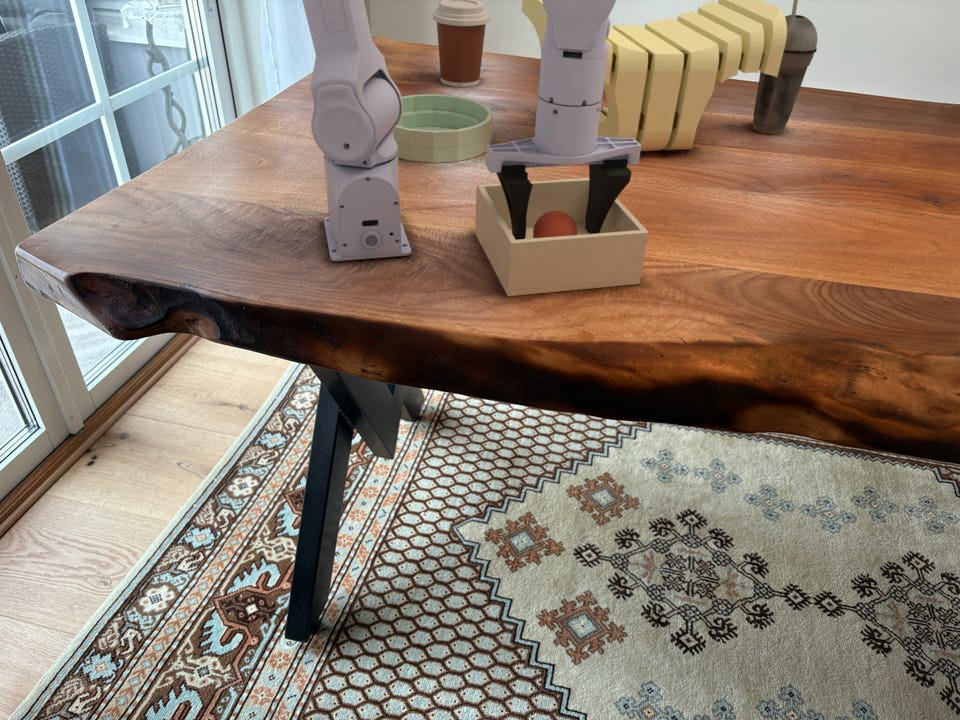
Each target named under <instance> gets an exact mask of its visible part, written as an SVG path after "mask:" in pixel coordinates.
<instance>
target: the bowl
mask: <svg viewBox="0 0 960 720" xmlns="http://www.w3.org/2000/svg"><path fill="white" fill-rule="evenodd" d="M401 97H402V101H403V111H402V116H401V119H400V120H399V122H398V124H397V125H396V126H395V127H394V128H393V129H392V130H393V137H394V139H395V142H396V144H397V146H398V159H401V160H406V161H409V162H419V163H428V164H429V163H431V164H433V163H434V164H438V163H439V164H440V163H455V162H463V161H465V160H470V159H475V158H477V157H479V156H481V155H482V154H484V153H486V145H492V143H493V127H494V125H493V124H494V122H493V121H494V112H492V109H490V107H489V106H488V105H486V104H484V103H481V102H479V101H477V100H475V99H471V98H466V97H462V96H457V95H448V94H447V95H446V94H438V93H437V94H436V93H432V94H431V93H429V94H410V95H404V96H401Z"/></svg>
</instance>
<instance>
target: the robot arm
mask: <svg viewBox="0 0 960 720" xmlns="http://www.w3.org/2000/svg"><path fill="white" fill-rule="evenodd" d="M301 1H302V5H303V8H304V13H305V17H306V20H307V24H308V29H309V32H310V37H311V41H312V45H313V49H314V53H315V59H314V65H313V69H312V75H311V80H310V91H311V95H312V100H313V110H312V111H313V112H312V117H311V120H310V121H311V122H310V127H311V133H312V137H313V139H314V142H315V144H316V145H317V147H318V149H319V150H320V151H321V152H322V153H323V163H324V176H325V187H326V189H325V190H326V199H327V212H328V213H327V214H328V216H325V217H324V218H323V224H324V230H325V235H326V242H327V246H328V252H329V258H330V260H331V261H332V262H343V261H355V260H369V259H380V258H381V259H382V258H393V257H407V256H410V255H412V248H411V246H410V242H409V239H408V237H407V233H406V231H405V228H404V225H403V223H402V219H401V218H402V216H401V198H400V197H401V196H400V177H399V175H400V173H399V172H400V171H399V158H398V146H397V144H396V142H395V139H394V137H393V130H392V129H393V128H394V127H395V126H396V125H397V124H398V122H399V120H400V119H401V116H402V111H403V101H402V97H403V96H402V93H401V91H400V89H399V87H398V86H397V84H396V83H395V82H394V80H393V79H392V77H391V76H390V74H389V71H388V68H387V64H386V59H385V57H384V55H383V53H382V52H381V50H380V49H379V48H378V47H377V45H376V44H375V43H374V41H373V38H372V32H371V28H370V23H369V20H368V19H369V18H368V13H367V9H366V4H365V0H301ZM541 1H542V2H543V5H544V8H545V10H546V12H547V22H546V34H545V38H544V40H543V42H542V51H541V50H540V65H539V76H538V77H539V78H538V88H537V100H536V101H537V102H536V115H535V126H534V136H533V137H529V138H524V139H518V140H514V141H508V142H503V143H496V144H495V143H494V144H491V145H486V152H485V163H484V164H485V166H486V168H487V170H488V171H489V173H490V174H496V176H497V178H498V180H499V183H501V186H502V188H503V191H504V194H505V197H506V201H507V204H508V208H509V213H510V218H511V225H512V235H513V236H514V238H515V240H520V239H525V237H526V218H527V209H528V203H529V198H530V194H531V190H532V187H533V185H532V184H531V182H530V181H531V180H530V179H529V173H528V172H527V169H532V168H533V169H534V168H552V167H569V166H586V165H588V167H589V168H588V175H589V176H588V178H589V196H588V203H587V210H586V217H585V229H586V230H587V231H588V233H589V234H597V233H600V230H601V227H602V225H603V223H604V220H605V218H606V216H607V214H608V212H609V210H610V208H611V206H612V205H613V203H614V201H615V200H616V198H617V199H618V197H619V196H620V194H621V193H622V192H623V191H624V189H625V188H626V187H627V186H628V185H629V184H630V183H631V179H632V170H631V169H629V167H628V166H636V165H637V166H638V165H639V162H640V158H641V157H640V156H641V152H642V151H641V144H639V143H638V142H637V141H636V140H635V139H634V138H610V137H597V134H598V126H599V118H600V111H602V102H603V94H604V80H605V73H606V65H607V57H608V50H609V45H608V42H607V38H608V36H609V32H610V27H611V20H610V14H611V12H612V11H613V9H614V7H615V4H616V1H617V0H541Z"/></svg>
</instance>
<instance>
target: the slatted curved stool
mask: <svg viewBox="0 0 960 720" xmlns="http://www.w3.org/2000/svg"><path fill="white" fill-rule="evenodd" d="M521 12H522V13H523V14H524V15H525V16H526V18H527V19H528V20H529V22H530V23H531V24H532V26H533V28H534V30H535V32H536V35H537V37H538V41H539V46H540V47H539V48H540V52H541V51H542V42H543V40H544V38H545V34H546V22H547V12H546V10H545V8H544V5H543V2H542V0H521ZM785 16H786V15H785V13H784V12H783V10H782V8H780V7H778V6H776V5H774V4H771V3H769V2H766V1H764V0H717V2H716V1H714V0H710V1H708V2H706V3H704V4H702V5H700V6H698V7H697V12H695V11H693V10H689V11H686V12H683V13H681V14H679V15H678V14H677V20H676V19H674V18H673V17H669V18H664V19H662V20H659V21H658V20H657V21H653V22H648V23H644V27H643V26H642V25H640V24H626V25H625V24H612V26H610V32H609V36H608V38H607V42H608V45H609V50H608V57H607V65H606V73H605V80H604V88H603V91H604V93H605V97H606V102H607V107H606V106H603V107H602V106H601V110H600V118H599V126H598V134H597V137H610V138H634V139H635V140H636V141H637V142H638V143H639V144H641V151H640V152H655V151H657V152H658V151H659V152H660V151H663V150H664V151H680V150H681V151H682V150H683V151H684V150H692V149H693V147H694V142H695V137H696V133H697V129H698V125H699V122H700V120H701V118H702V116H703V113H704V111H705V109H706V107H707V105H708V104H709V101H710V100H711V97H712V96H713V94H714V89H715V85H716V81H718V82H720V84H723V83H725V81H727V80H729V79H731V78H733V77H736V76H738V73H739V72H741V73H743V74H751V73H752V74H753V73H754V74H758V73H759V72H760V71H761V72H763V73H764V74H768V75H772V76H775V77H777V76H778V72H779V68H780V64H781V60H782V56H783V52H784V48H785V44H786V38H787V23H786V18H785Z"/></svg>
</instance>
